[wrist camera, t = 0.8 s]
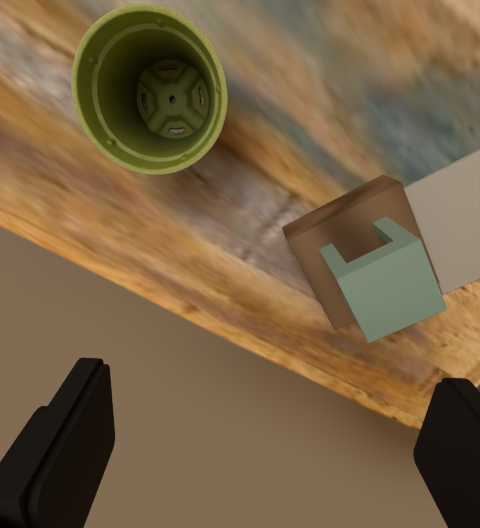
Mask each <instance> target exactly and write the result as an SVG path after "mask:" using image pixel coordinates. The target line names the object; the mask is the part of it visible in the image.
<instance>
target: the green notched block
mask: <svg viewBox="0 0 480 528" xmlns="http://www.w3.org/2000/svg"><path fill="white" fill-rule="evenodd" d="M373 226H374V228H375V230H376V233H377V235H378V236H379V237H380V238H381V239H383V240H384V241H385V242H386V243H387V244H386V245H384V246H382V247H380V248H378V249H376V250H374V251H372V252H370V253H367V254H365V255H363V256H361V257H359V258H357V259H355V260H353V261H351V262H349V263H346V262H345V260H344V259H343V258H342V256H341V255H340V254H339V252H338V251H337V249H336V248H335V247H334V245H333V244H332V243H331V244H329V245H327V246H325V247H323V248H321V249H319V251H320V253H321V255H322V257H323V259H324V261H325V263H326V264H327V266H328V268H329V270H330V271H331V273H332V275H333V276H334V278H335V280H336V281H337V283H338V285H339V287H340V289H341V291H342V293H343V294H341V295H342V297H343V299H344V301H345V303H346V305H347V306H348V308H349V310H350V312H351V314H352V315H353V317H354V319H355V321H356V322H357V324H358V326H359V328H360V329H361V331H362V333H363V335H364V336H365V338H366V340H367V342H368V343H371V342H373V341H375V340H377V339H380V338H382V337H384V336H387V335H389V334H391V333H394V332H396V331H398V330H400V329H403V328H405V327H407V326H410V325H412V324H414V323H416V322H419V321H421V320H423V319H426V318H428V317H430V316H433V315H435V314H437V313H439V312H442V311H444V310H446V309H447V307H446V305H445V302H444V300H443V297H442V294H441V292H440V289H439V287H438V284H437V281H436V279H435V276H434V274H433V271H432V268H431V266H430V263H429V261H428V258H427V255H426V253H425V250H424V248H423V245H422V242H421V240H420V239H419V238H418V237H416V236H415V235H413V234H412V233H410V232H409V231H407V230H406V229H404V228H403V227H401V226H400V225H399V224H397V223H396V222H394V221H393V220H391V219H390V218H388V217H387V216H386V217H384V218H382V219H380V220H378V221H376V222H374V223H373Z"/></svg>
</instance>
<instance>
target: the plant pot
mask: <svg viewBox="0 0 480 528" xmlns="http://www.w3.org/2000/svg"><path fill="white" fill-rule="evenodd" d="M166 65H175V66H176V67H177V70H162V71H160V69H161V68H162V67H163V66H166ZM198 88H200V89H202V91H203V96H204V104H203V106H200V95H199V90H198ZM71 89H72V97H73V101H74V106H75V110H76V113H77V115H78V118H79V120H80V123H81V125H82V127H83V129H84V131H85V132H86V134H87V135H88V137H89V138H90V140H91V141H92V143H93V144H94V145H95V146H96V147H97V148H98V149H99V150H100V151H101V152H102V153H103V154H104V155H105V156H106V157H108V158H109V159H110V160H111V161H113V162H115V163H116V164H118V165H120V166H121V167H123V168H125V169H128V170H130V171H133V172H137V173H141V174H147V175H163V174H170V173H174V172H177V171H180V170H183V169H185V168H187V167H189V166H191V165H192V164H194V163H196V162H197V161H198V160H200V159H201V158H202V157H203V156H204V155H205V154H206V153H207V152H208V151H209V150H210V149H211V147H212V146H213V145H214V143H215V142H216V140H217V138H218V136H219V134H220V132H221V130H222V127H223V125H224V121H225V118H226V112H227V103H228V92H227V83H226V78H225V74H224V70H223V67H222V64H221V62H220V59H219V57H218V55H217V53H216V51H215V49H214V47H213V46H212V44H211V43H210V41H209V40H208V38H207V37H206V36H205V35H204V34H203V33H202V31H201V30H200V29H199V28H198V27H197V26H196V25H194V24H193V23H192V22H191V21H190V20H188V19H187V18H186V17H184V16H183V15H181V14H180V13H178V12H176V11H174V10H171V9H169V8H166V7H163V6H159V5H153V4H132V5H127V6H123V7H120V8H117V9H114V10H112V11H111V12H109V13H107V14H106V15H104V16H103V17H101V18H100V19H99V20H98V21H96V22H95V23H94V24H93V25H92V26H91V27H90V29H89V30H88V31H87V32H86V34H85V35H84V37H83V38H82V40H81V42H80V44H79V46H78V49H77V51H76V54H75V58H74V62H73V67H72V75H71ZM142 94H146V102H147V108H148V112H147V111H145V110H144V106H143V103H142ZM171 96H173V97H175V103H171V102H170V97H171ZM182 127H184V128H185V131H183V132H182V133H172V132H170V131H169V129H170V128H175V129H176V128H177V129H178V128H182Z"/></svg>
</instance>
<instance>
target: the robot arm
mask: <svg viewBox="0 0 480 528" xmlns="http://www.w3.org/2000/svg"><path fill="white" fill-rule="evenodd" d="M114 442H115V428H114V416H113V403H112V390H111V378H110V368H109V365H108V364H104V363H103V360H102V359H97V358H80V359H79V360H78V361H77V362H76V364H75V366H74V367H73V369H72V370H71V372H70V373H69V375H68V376H67V378H66V379H65V381H64V382H63V384H62V385H61V387H60V388H59V390H58V391H57V393H56V394H55V396H54V398H53V399H52V401H51V402H50V404H49V405H48V406H41V407H39V408H38V409H37V410H36V411H35V412H34V414H33V415H32V417H31V418H30V420H29V421H28V422H27V424H26V425H25V427H24V428H23V430H22V431H21V433H20V434H19V436H18V437H17V438H16V440H15V441H14V443H13V444H12V446H11V447H10V449H9V450H8V452H7V453H6V454H5V456H4V457H3V459H2V460H1V462H0V528H83V527H84V525H85V522H86V519H87V517H88V514H89V511H90V509H91V506H92V503H93V501H94V498H95V495H96V493H97V490H98V488H99V485H100V482H101V479H102V477H103V474H104V471H105V469H106V466H107V464H108V461H109V458H110V455H111V453H112V450H113V447H114ZM414 460H415V463H416V466H417V468H418V470H419V471H420V473H421V475H422V477H423V479H424V481H425V483H426V485H427V487H428V489H429V491H430V493H431V495H432V497H433V499H434V501H435V503H436V505H437V507H438V509H439V510H440V513H441V515H442V517H443V518H444V521H445V522H446V524H447V526H448V528H480V392H479V391H478V389H477V388H476V387H475V386H474V385H473V384H472V383H471V382H470V381H469V380H468V379H463V378H444V379H443V380H442V381H441V382H440V383H438V384H437V385H436V387H435V390H434V392H433V395H432V398H431V401H430V404H429V407H428V410H427V413H426V416H425V419H424V422H423V425H422V427H421V430H420V434H419V436H418V439H417V442H416V445H415V448H414Z"/></svg>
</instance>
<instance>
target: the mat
mask: <svg viewBox="0 0 480 528" xmlns="http://www.w3.org/2000/svg"><path fill="white" fill-rule="evenodd" d="M404 190H405V193H406V196H407V198H408V201H409V203H410V206H411V209H412V211H413V214H414V217H415V219H416V222H417V224H418V227H419V230H420V232H421V235H422V238H423V240H424V243H425V245H426V248H427V251H428V253H429V256H430V259H431V261H432V264H433V266H434V269H435V272H436V274H437V277H438V280H439V282H440V283H439V284H438V286H439V289H440V292H441V293H442V294H443V295H444V294H446V293H448V292H451V291H453V290H455V289H457V288H460V287H462V286H464V285H466V284H469V283H471V282H473V281H475V280H478V279H480V149H478V150H477V151H475V152H473V153H471V154H469V155H467V156H465V157H463V158H461V159H459V160H457V161H455V162H453V163H451V164H449V165H447V166H445V167H443V168H441V169H439V170H437V171H435V172H433V173H431V174H429V175H428V176H426V177H424V178H422V179H420V180H418V181H416V182H414V183H412V184H410V185H408V186H406V187H404Z"/></svg>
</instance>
